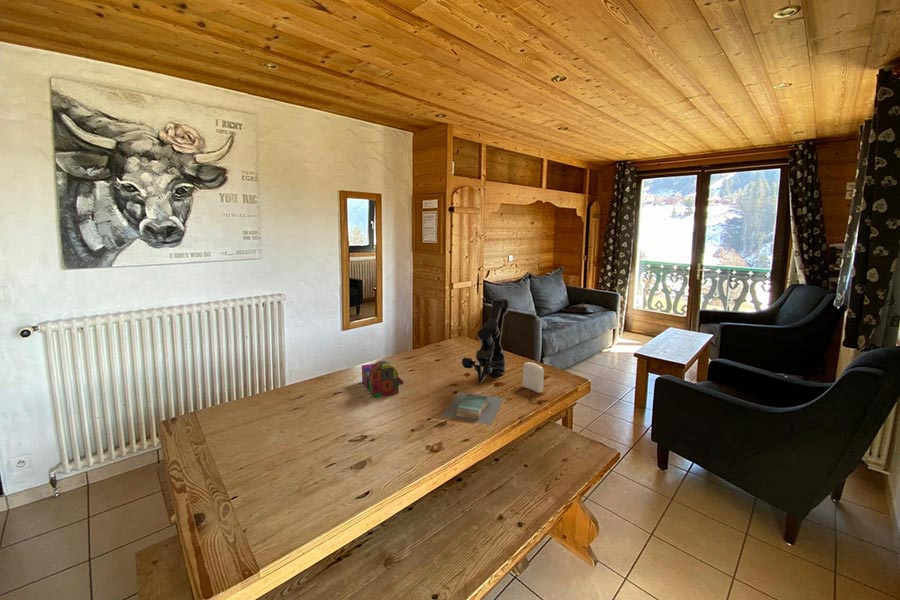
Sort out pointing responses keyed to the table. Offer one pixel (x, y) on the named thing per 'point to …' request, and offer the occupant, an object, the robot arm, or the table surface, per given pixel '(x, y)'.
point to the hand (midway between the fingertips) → (479, 383)
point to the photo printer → (533, 377)
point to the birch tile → (472, 406)
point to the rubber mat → (486, 416)
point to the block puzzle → (381, 379)
